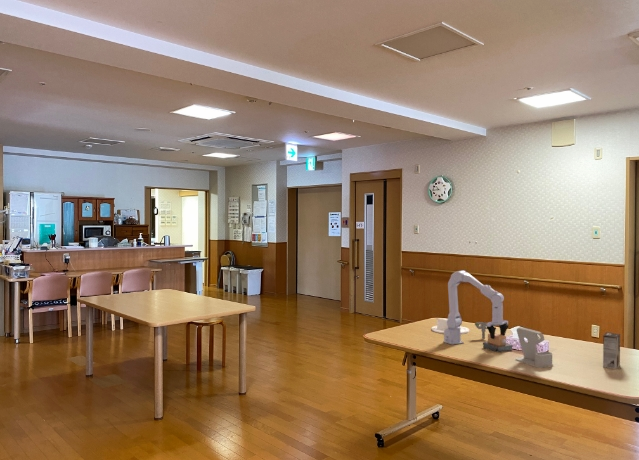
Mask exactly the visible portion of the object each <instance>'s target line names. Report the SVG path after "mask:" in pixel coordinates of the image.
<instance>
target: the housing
mask: <svg viewBox="0 0 639 460" xmlns="http://www.w3.org/2000/svg"><path fill="white" fill-rule="evenodd" d="M487 342H488V343H492V344H495V345H498V346H501V345H506V343H507V336H506V335H505V336H504V335H500V333H496V332H495V338H494V339H492V338H491V337H490V333H487Z"/></svg>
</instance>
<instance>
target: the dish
mask: <svg viewBox="0 0 639 460" xmlns="http://www.w3.org/2000/svg"><path fill="white" fill-rule="evenodd" d="M447 320H448V318H441V317H440V318H436V325H433V326H432V327H431V331H433V332H434V333H438V334H443V335H444V331H445V329H448V326H447ZM460 327H461V335H464V334H468V333H470V328H469V327H466V326H462V325H460Z"/></svg>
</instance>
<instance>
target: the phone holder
mask: <svg viewBox="0 0 639 460" xmlns="http://www.w3.org/2000/svg"><path fill="white" fill-rule="evenodd" d="M516 333H517V338H518V341H519V343H520V344H519V345H520V348H521V351H522V354H523V356H521V357H515V361H517V362H520V363H522V364H526V365H529V366H533V367H535V366H536V367H535V368H538V367H539V368H538V369H543V367H545V368H549V367H548V366H550V367H553V366H554V364H553V353H552V352H551V351H550V352H549V351H541V352H538V349H537V345H539V344H541V343H542V342H543V341H544V340H545V335H544V334H543V332H541V331H538V330H534V329H530V328H526V327H522V326H519V327H517V328H516ZM525 339H526V340H527V341H526V340H525Z"/></svg>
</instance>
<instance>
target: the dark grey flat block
mask: <svg viewBox="0 0 639 460" xmlns="http://www.w3.org/2000/svg"><path fill="white" fill-rule="evenodd" d="M482 345H483V348H484V349H486V350H489V351H491V352H494V353H495V352H496V353H503V352H510V351H513V347H514V346H513V344H510V343H507V342H506V345H501V346H498V345H495V344H492V343H488V341H484V342H482Z"/></svg>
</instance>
